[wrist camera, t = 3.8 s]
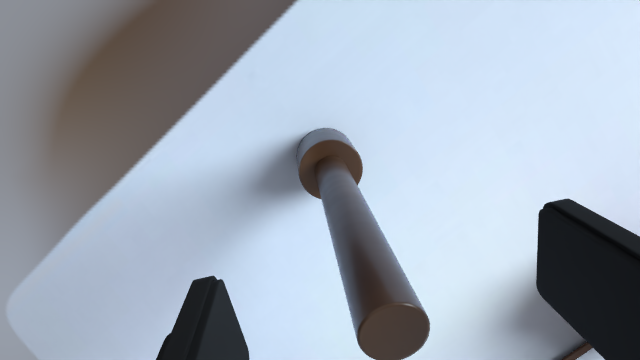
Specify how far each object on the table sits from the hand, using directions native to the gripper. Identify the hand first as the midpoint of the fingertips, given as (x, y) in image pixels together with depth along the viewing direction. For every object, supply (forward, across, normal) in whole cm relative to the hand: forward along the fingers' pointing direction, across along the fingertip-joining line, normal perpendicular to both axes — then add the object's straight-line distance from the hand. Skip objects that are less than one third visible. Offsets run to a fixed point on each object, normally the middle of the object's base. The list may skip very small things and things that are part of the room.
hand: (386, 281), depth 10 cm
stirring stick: (+13, 0, 0) cm, 13 cm away
